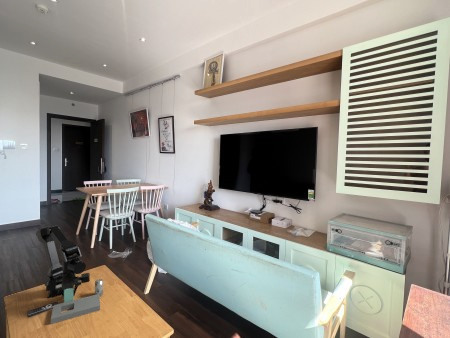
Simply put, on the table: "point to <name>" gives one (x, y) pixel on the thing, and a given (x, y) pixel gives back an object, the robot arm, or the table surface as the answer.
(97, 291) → the round peg
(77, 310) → the plate
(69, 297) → the square peg
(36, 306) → the table surface
